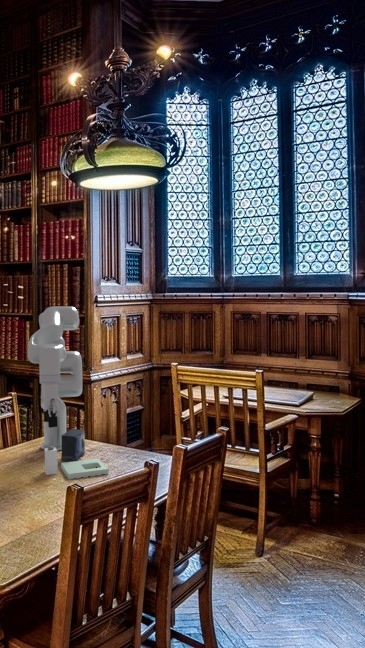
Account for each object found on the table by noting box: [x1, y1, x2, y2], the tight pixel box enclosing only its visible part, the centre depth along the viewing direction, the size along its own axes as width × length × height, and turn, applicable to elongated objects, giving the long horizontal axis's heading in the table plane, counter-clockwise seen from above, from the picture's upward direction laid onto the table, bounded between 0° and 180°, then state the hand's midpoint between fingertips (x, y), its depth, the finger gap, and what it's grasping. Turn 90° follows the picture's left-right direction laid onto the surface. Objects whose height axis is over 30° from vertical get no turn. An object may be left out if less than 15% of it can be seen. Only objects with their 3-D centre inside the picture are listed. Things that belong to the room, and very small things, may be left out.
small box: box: [60, 428, 86, 462], centre depth 229 cm, size 11×6×10 cm, turn 168°
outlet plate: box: [60, 458, 110, 480], centre depth 211 cm, size 14×15×2 cm
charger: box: [44, 446, 58, 476], centre depth 209 cm, size 4×4×10 cm
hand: (50, 424), depth 208 cm, fingers open, 9 cm apart
